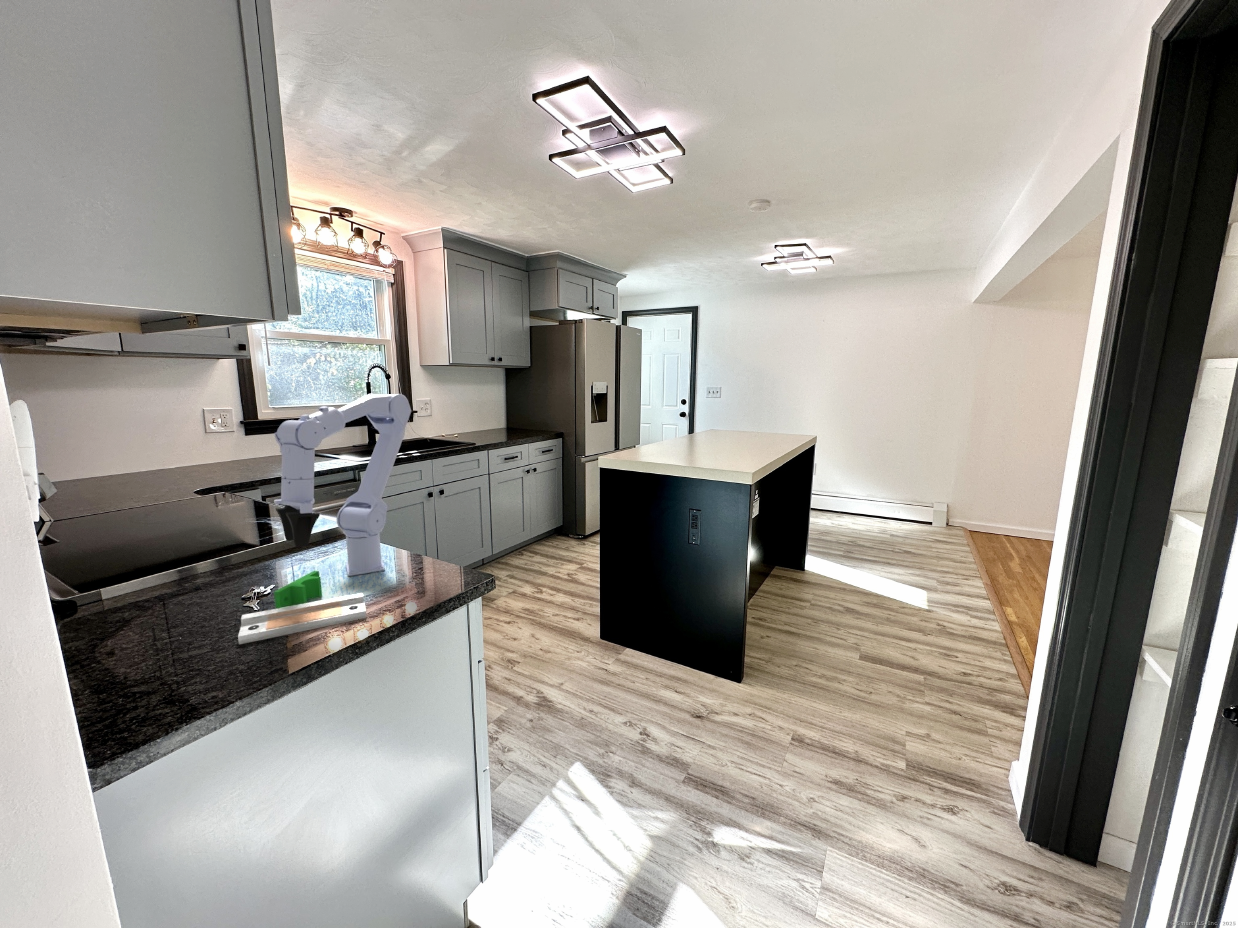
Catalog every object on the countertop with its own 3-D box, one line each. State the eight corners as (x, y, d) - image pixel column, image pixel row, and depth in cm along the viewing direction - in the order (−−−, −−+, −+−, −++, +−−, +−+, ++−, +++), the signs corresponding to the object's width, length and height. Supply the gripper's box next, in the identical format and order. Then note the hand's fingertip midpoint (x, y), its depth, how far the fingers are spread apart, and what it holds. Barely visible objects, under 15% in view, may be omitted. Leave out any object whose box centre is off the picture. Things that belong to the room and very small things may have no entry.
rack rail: (243, 627, 94) (242, 614, 93) (363, 603, 104) (362, 592, 103) (239, 644, 88) (237, 631, 87) (366, 617, 98) (365, 605, 97)
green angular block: (293, 614, 99) (291, 592, 99) (276, 613, 100) (273, 591, 99) (331, 590, 110) (329, 570, 110) (316, 589, 111) (314, 570, 110)
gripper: (267, 475, 106) (266, 539, 107) (283, 481, 96) (282, 552, 97) (305, 475, 111) (304, 536, 112) (324, 481, 101) (323, 547, 102)
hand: (296, 543), depth 105 cm, fingers open, 7 cm apart
